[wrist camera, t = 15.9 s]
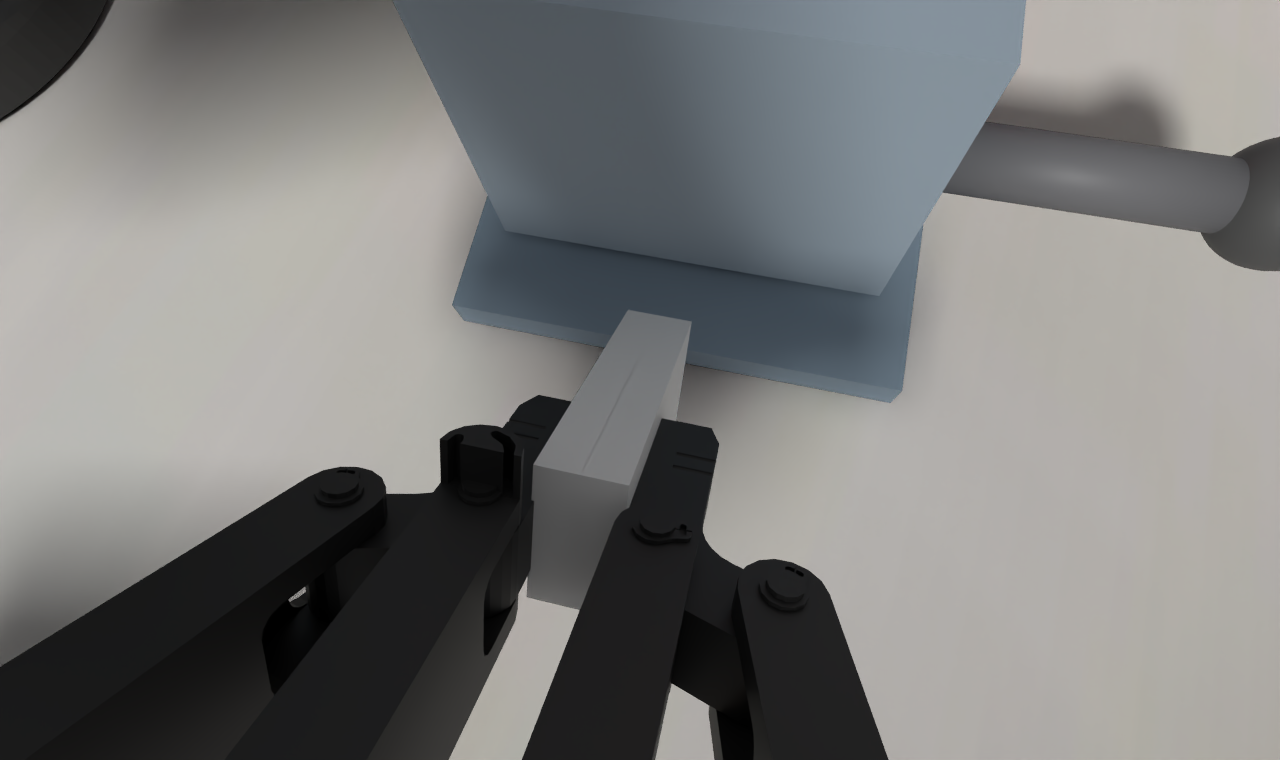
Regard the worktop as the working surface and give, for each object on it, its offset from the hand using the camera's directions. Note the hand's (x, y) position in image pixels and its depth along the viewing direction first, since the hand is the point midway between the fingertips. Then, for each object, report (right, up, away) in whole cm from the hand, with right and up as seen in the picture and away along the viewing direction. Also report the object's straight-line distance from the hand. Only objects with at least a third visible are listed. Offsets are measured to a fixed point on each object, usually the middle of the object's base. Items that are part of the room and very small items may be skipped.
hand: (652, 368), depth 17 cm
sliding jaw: (+6, +4, +4) cm, 8 cm away
